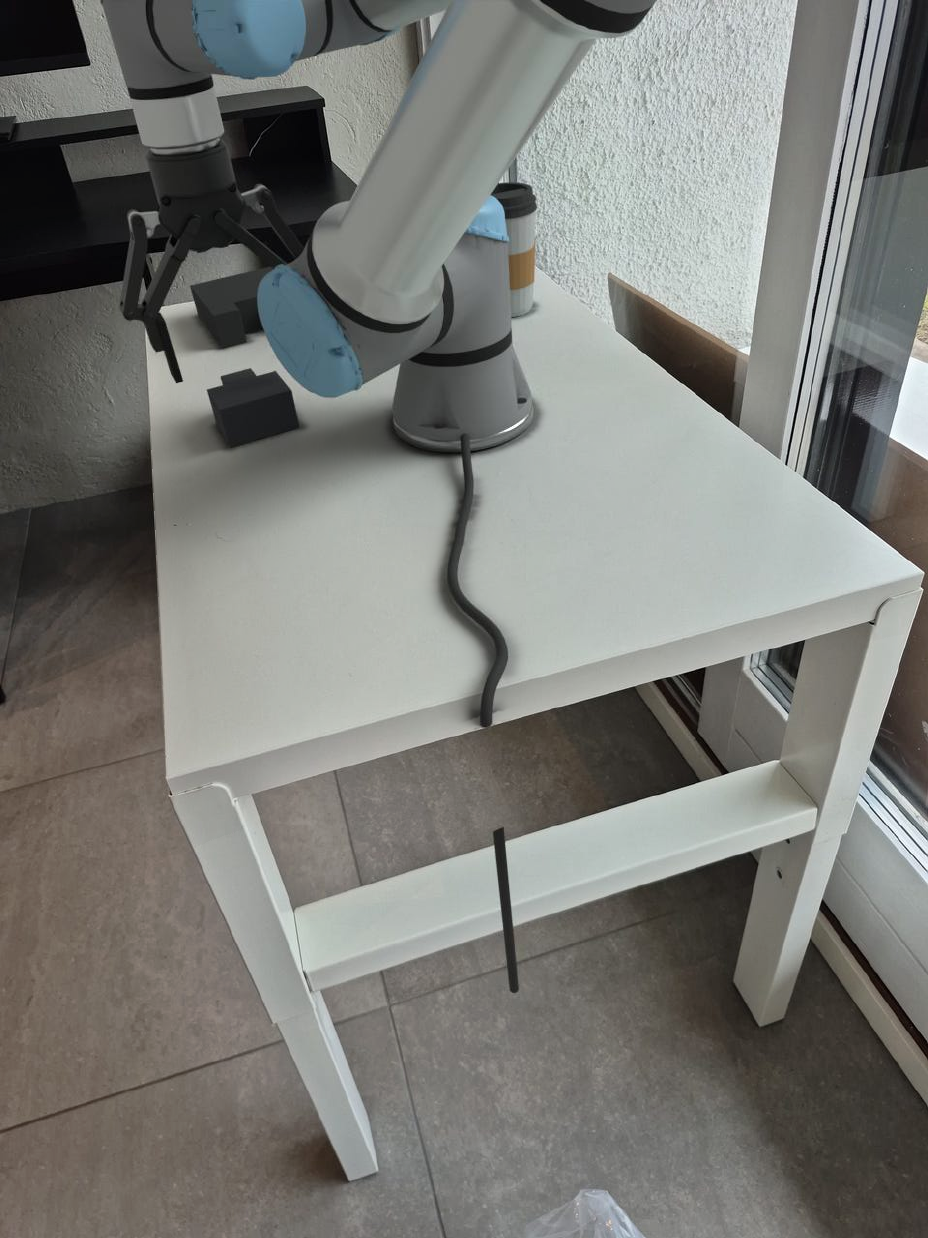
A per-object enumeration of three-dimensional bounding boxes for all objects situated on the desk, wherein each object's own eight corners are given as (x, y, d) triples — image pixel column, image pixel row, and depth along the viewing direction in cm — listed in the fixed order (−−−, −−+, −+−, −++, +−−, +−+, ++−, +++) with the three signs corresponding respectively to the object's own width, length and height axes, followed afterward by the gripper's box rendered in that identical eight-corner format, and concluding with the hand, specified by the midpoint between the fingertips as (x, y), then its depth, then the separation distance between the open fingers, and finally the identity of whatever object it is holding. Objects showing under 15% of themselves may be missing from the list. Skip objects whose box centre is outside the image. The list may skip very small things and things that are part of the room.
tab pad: (299, 427, 100) (291, 389, 98) (230, 447, 98) (219, 409, 95) (277, 398, 107) (269, 362, 104) (211, 417, 104) (201, 380, 102)
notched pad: (307, 326, 123) (300, 293, 121) (221, 348, 120) (212, 315, 117) (277, 296, 133) (271, 266, 131) (198, 316, 130) (189, 285, 127)
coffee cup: (468, 306, 124) (458, 189, 114) (522, 292, 126) (517, 177, 117) (495, 326, 118) (487, 204, 108) (551, 311, 120) (548, 190, 111)
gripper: (301, 113, 89) (337, 322, 103) (41, 161, 82) (117, 378, 96) (325, 126, 84) (360, 344, 98) (50, 178, 77) (129, 405, 91)
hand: (239, 361), depth 97 cm, fingers open, 13 cm apart
